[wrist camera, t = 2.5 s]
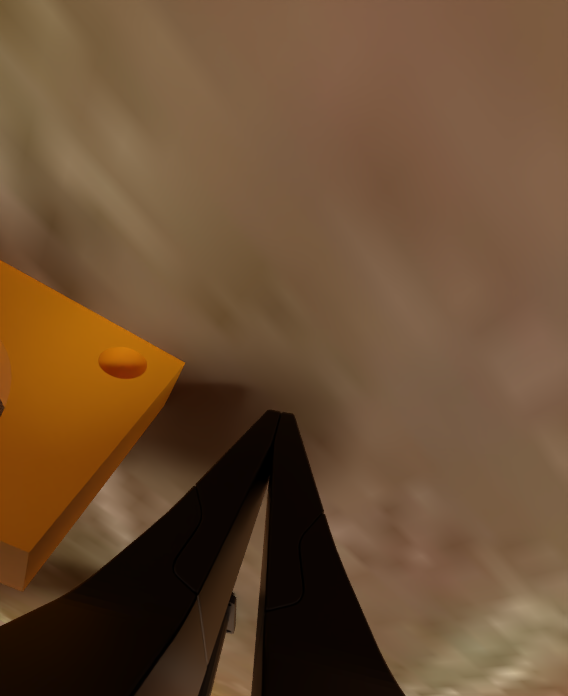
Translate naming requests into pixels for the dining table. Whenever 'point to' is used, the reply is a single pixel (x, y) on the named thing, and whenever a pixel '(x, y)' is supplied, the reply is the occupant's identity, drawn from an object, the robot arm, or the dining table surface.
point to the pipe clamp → (64, 414)
